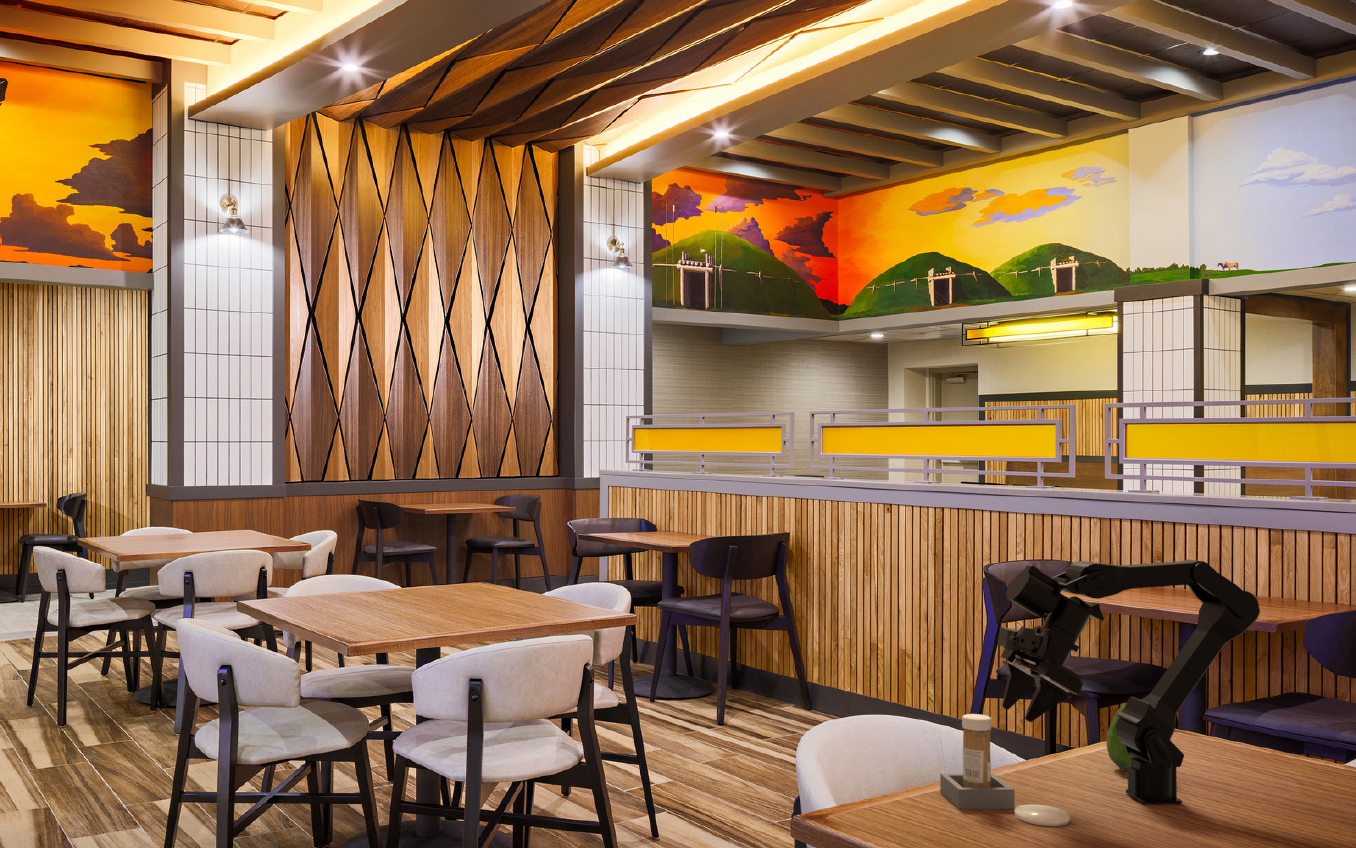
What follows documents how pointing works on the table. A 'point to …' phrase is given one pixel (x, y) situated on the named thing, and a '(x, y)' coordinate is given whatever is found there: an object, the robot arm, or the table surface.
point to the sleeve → (977, 793)
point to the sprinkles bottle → (976, 751)
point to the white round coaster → (1042, 815)
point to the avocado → (1117, 746)
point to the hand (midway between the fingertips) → (1015, 714)
